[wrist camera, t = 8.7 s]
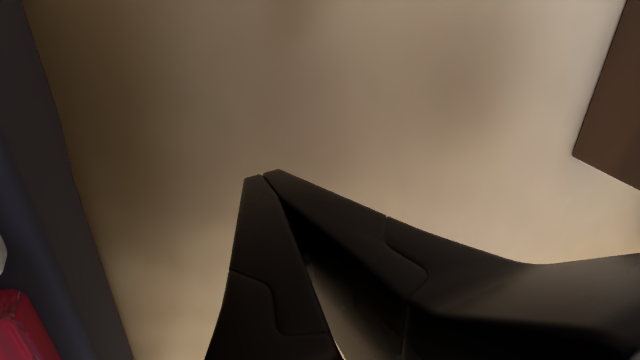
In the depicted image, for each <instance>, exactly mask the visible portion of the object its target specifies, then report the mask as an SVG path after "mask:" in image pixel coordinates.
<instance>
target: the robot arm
mask: <svg viewBox="0 0 640 360" xmlns="http://www.w3.org/2000/svg"><path fill="white" fill-rule="evenodd" d="M331 334H332V335H331ZM333 338H334V339H333ZM334 340H335V341H336V343H337V345H338V347H339V348H340V350H341V352H342V354H343V355H344V357H345V359H346V360H640V253H636V254H627V255H619V256H611V257H603V258H595V259H587V260H579V261H571V262H563V263H555V264H529V263H522V262H517V261H513V260H509V259H506V258H503V257H500V256H497V255H494V254H491V253H488V252H485V251H482V250H479V249H475V248H472V247H469V246H466V245H463V244H460V243H457V242H454V241H451V240H448V239H445V238H443V237H440V236H437V235H434V234H431V233H428V232H426V231H423V230H420V229H418V228H415V227H413V226H410V225H408V224H406V223H403V222H401V221H398V220H396V219H394V218H391V217H387V216H386V215H384V214H382V213H380V212H377V211H375V210H373V209H370V208H368V207H366V206H363V205H361V204H359V203H356V202H354V201H352V200H350V199H347V198H345V197H343V196H340V195H338V194H336V193H333V192H331V191H329V190H326V189H324V188H322V187H320V186H317V185H315V184H313V183H310V182H308V181H306V180H303V179H301V178H299V177H296V176H294V175H292V174H289V173H287V172H285V171H283V170H280V169H276V170H273V171H269V172H266V173H264V174H263V176H262V175H260V174H258V175H255V176H251V177H247V178H245V179H244V183H243V189H242V195H241V201H240V207H239V213H238V219H237V225H236V231H235V237H234V242H233V248H232V254H231V260H230V266H229V273H228V277H227V283H226V288H225V293H224V297H223V302H222V307H221V310H220V313H219V317H218V320H217V323H216V326H215V330H214V333H213V336H212V338H211V341H210V344H209V347H208V350H207V353H206V356H205V359H204V360H344V359H343V358H342V356H341V354H340V352H339V350H338V348H337V346H336V343H335V341H334Z"/></svg>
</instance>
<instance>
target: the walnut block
mask: <svg viewBox="0 0 640 360" xmlns="http://www.w3.org/2000/svg"><path fill="white" fill-rule="evenodd" d="M572 156H573V157H575V158H577V159H579V160H581V161H583V162H585V163H587V164H589V165H591V166H593V167H595V168H597V169H599V170H601V171H603V172H605V173H607V174H608V175H610V176H612V177H614V178H616V179H618V180H620V181H622V182H624V183H626V184H628V185H630V186H632V187H634V188H636V189H638V190H640V0H627V3H626V6H625V9H624V12H623V14H622V17H621V20H620V23H619V26H618V28H617V31H616V34H615V37H614V39H613V42H612V45H611V48H610V51H609V53H608V56H607V59H606V62H605V65H604V67H603V70H602V73H601V76H600V79H599V81H598V84H597V87H596V90H595V92H594V95H593V98H592V101H591V104H590V106H589V109H588V112H587V115H586V118H585V120H584V123H583V126H582V129H581V131H580V134H579V137H578V140H577V143H576V145H575V148H574V151H573V154H572Z"/></svg>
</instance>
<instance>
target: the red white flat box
mask: <svg viewBox="0 0 640 360" xmlns="http://www.w3.org/2000/svg"><path fill="white" fill-rule="evenodd" d="M0 360H134V359H133V356H132V353H131V350H130V347H129V345H128V342H127V339H126V336H125V333H124V330H123V327H122V324H121V321H120V318H119V315H118V312H117V309H116V306H115V303H114V300H113V297H112V294H111V291H110V288H109V285H108V282H107V279H106V276H105V273H104V270H103V268H102V265H101V262H100V259H99V256H98V253H97V250H96V247H95V244H94V241H93V238H92V235H91V232H90V229H89V226H88V223H87V220H86V217H85V214H84V211H83V208H82V205H81V202H80V199H79V196H78V193H77V191H76V188H75V185H74V181H73V177H72V173H71V168H70V164H69V159H68V154H67V149H66V145H65V140H64V135H63V130H62V126H61V123H60V120H59V116H58V113H57V110H56V107H55V104H54V100H53V97H52V94H51V91H50V88H49V85H48V82H47V79H46V76H45V73H44V70H43V67H42V64H41V61H40V57H39V54H38V51H37V48H36V45H35V42H34V39H33V36H32V33H31V30H30V27H29V24H28V21H27V18H26V14H25V11H24V8H23V5H22V2H21V0H0Z"/></svg>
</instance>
